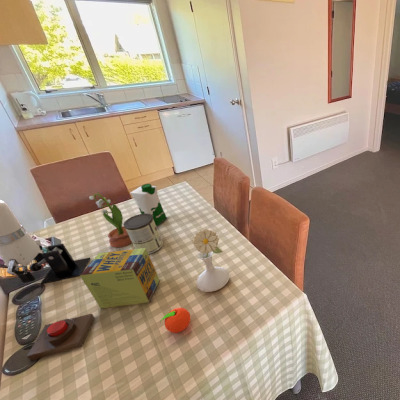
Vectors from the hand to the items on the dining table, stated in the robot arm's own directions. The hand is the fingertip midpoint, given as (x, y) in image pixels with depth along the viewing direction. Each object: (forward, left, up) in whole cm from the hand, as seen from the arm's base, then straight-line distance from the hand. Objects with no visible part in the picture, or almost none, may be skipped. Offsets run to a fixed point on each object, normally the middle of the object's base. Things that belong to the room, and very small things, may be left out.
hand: (37, 271), depth 98 cm
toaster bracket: (+8, 0, -3) cm, 9 cm away
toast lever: (+5, 0, +3) cm, 6 cm away
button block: (+19, -32, -3) cm, 37 cm away
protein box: (+34, -20, -4) cm, 40 cm away
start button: (+19, -32, 0) cm, 37 cm away
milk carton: (+34, +27, -4) cm, 44 cm away
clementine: (+51, -40, -4) cm, 65 cm away
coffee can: (+35, +6, -4) cm, 36 cm away
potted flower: (+23, +14, -4) cm, 27 cm away
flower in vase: (+62, -25, -4) cm, 67 cm away
